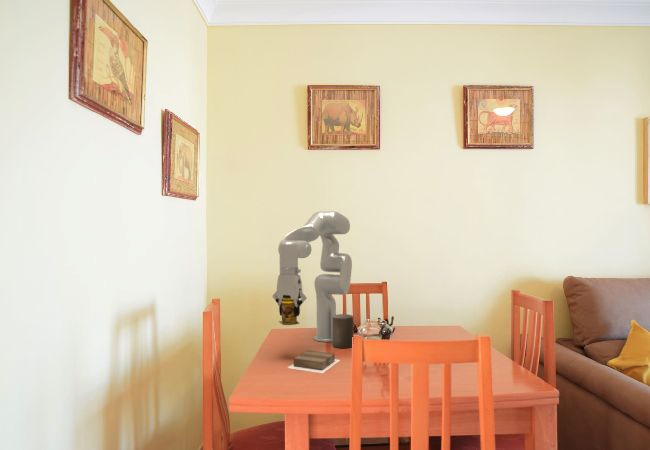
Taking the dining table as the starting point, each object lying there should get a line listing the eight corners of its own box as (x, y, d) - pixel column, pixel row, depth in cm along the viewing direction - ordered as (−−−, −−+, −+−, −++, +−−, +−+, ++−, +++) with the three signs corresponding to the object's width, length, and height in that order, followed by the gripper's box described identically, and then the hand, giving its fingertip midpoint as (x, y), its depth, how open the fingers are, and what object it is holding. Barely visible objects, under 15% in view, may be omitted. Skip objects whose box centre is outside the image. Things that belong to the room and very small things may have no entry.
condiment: (283, 326, 163) (282, 296, 163) (278, 321, 171) (277, 293, 171) (300, 324, 165) (300, 295, 165) (294, 319, 173) (294, 291, 173)
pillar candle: (354, 348, 183) (353, 315, 183) (332, 348, 183) (332, 315, 184) (353, 343, 193) (352, 311, 193) (332, 343, 193) (332, 311, 193)
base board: (307, 357, 170) (307, 355, 170) (340, 361, 164) (340, 359, 164) (287, 369, 155) (287, 367, 155) (322, 375, 149) (322, 373, 149)
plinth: (307, 357, 167) (307, 350, 168) (334, 361, 162) (334, 353, 163) (293, 366, 157) (293, 358, 157) (321, 370, 152) (321, 362, 152)
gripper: (311, 271, 167) (312, 315, 167) (275, 270, 174) (276, 312, 174) (303, 273, 160) (303, 319, 160) (266, 272, 167) (266, 315, 167)
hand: (289, 315), depth 167 cm, fingers closed on condiment, 6 cm apart
